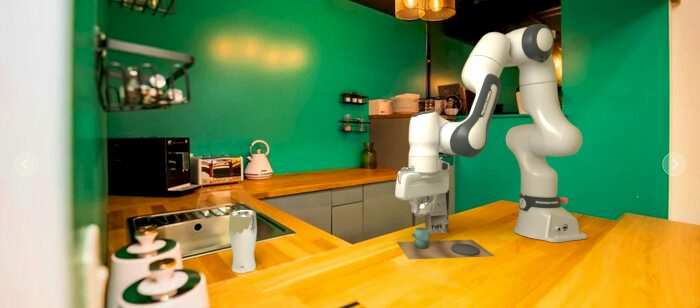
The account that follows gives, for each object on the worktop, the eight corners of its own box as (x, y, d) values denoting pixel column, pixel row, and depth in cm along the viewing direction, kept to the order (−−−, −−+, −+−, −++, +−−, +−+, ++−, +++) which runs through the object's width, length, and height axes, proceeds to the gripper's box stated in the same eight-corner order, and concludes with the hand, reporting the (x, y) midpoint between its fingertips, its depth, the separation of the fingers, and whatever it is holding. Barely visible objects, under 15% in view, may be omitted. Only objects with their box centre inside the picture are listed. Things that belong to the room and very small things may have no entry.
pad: (471, 245, 101) (471, 243, 100) (484, 255, 93) (485, 253, 93) (446, 246, 100) (446, 244, 100) (458, 256, 92) (458, 254, 92)
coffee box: (448, 236, 112) (449, 190, 111) (430, 236, 113) (431, 190, 111) (441, 228, 121) (442, 185, 120) (424, 228, 122) (425, 185, 120)
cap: (434, 215, 98) (434, 199, 97) (423, 218, 95) (423, 202, 94) (422, 212, 102) (422, 197, 101) (410, 214, 99) (411, 199, 99)
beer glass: (242, 276, 81) (240, 217, 80) (224, 270, 85) (222, 213, 84) (263, 266, 87) (262, 211, 86) (245, 261, 91) (244, 208, 90)
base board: (471, 243, 106) (472, 223, 105) (495, 260, 92) (495, 237, 91) (396, 245, 103) (396, 225, 103) (408, 263, 89) (409, 240, 89)
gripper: (406, 169, 89) (406, 218, 90) (453, 163, 100) (452, 207, 102) (390, 166, 94) (390, 214, 95) (436, 162, 106) (436, 204, 107)
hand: (422, 210), depth 98 cm, fingers closed on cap, 5 cm apart
